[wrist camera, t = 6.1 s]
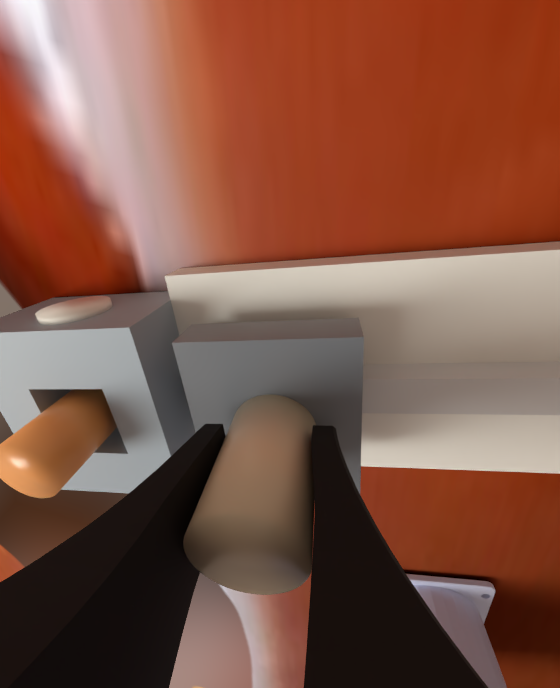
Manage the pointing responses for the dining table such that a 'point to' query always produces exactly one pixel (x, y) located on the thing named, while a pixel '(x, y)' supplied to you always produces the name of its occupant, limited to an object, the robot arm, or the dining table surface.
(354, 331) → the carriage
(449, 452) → the rail track
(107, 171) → the dining table surface
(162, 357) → the grey block with socket
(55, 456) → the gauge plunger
